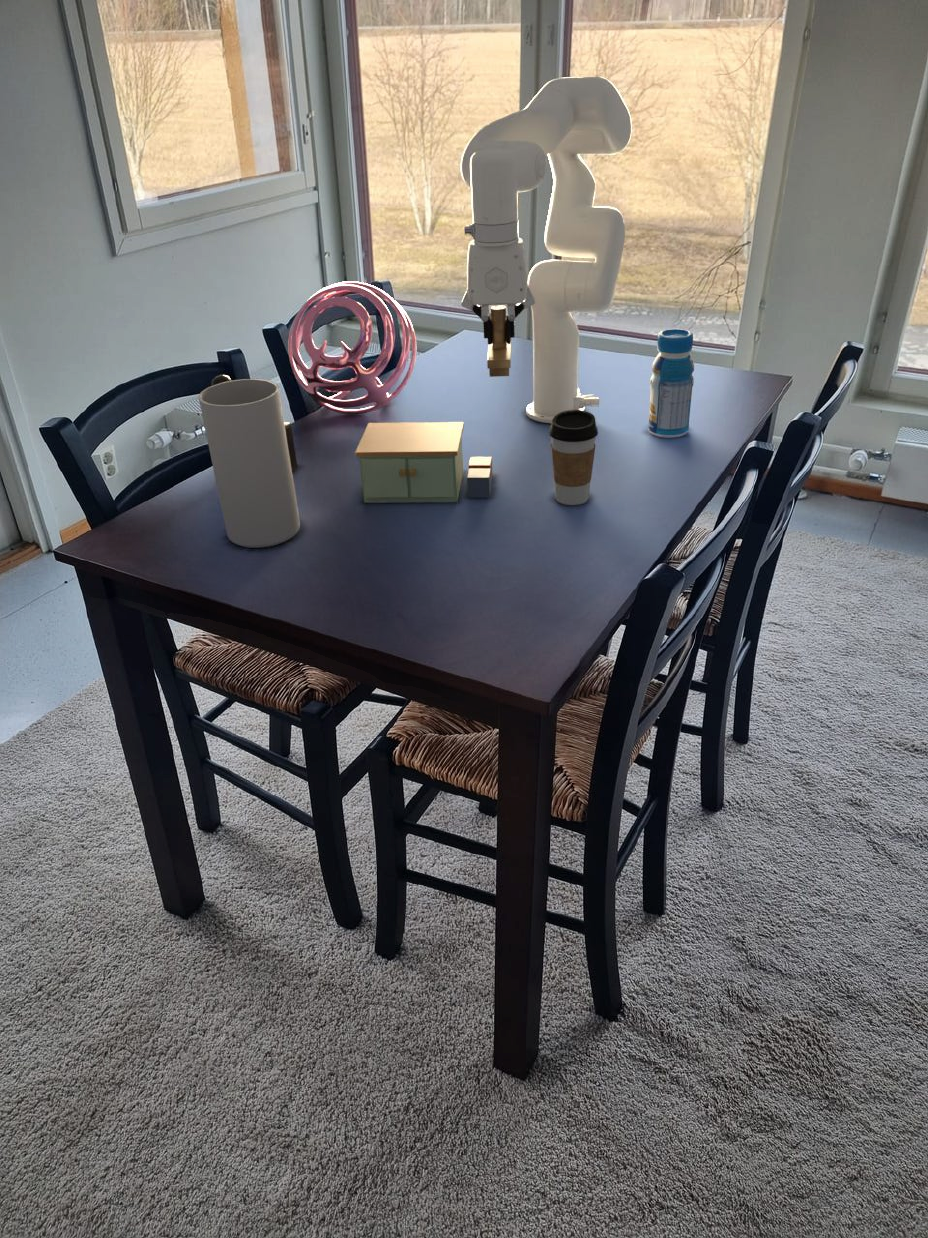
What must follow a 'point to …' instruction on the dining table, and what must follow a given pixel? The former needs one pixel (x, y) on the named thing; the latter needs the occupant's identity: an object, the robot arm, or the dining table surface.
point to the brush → (499, 344)
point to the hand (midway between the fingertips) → (499, 340)
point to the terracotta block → (481, 463)
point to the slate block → (479, 482)
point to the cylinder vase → (251, 461)
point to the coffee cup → (573, 455)
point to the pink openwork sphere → (351, 350)
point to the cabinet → (411, 462)
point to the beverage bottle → (671, 384)
